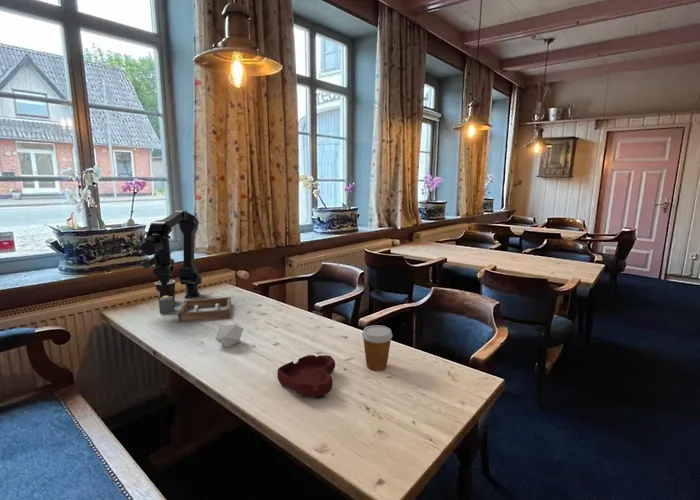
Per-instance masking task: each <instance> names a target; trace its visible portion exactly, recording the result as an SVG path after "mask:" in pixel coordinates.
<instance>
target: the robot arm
mask: <svg viewBox="0 0 700 500" xmlns="http://www.w3.org/2000/svg"><path fill="white" fill-rule="evenodd" d="M177 224H178V225H179V229H180V232H181V233H182V235H183V264H182V266H181V267H179V269H178V273H179V274H178V279H179V282H180V285H181V286H182V285H183V286H184V287H185V295H184V298H199V297H200V294H201V293H200V291H199V285H201V284H202V281H203V278H202V277H201V275H200V274H199V270H198V267H197V266H196V264H195V234H196V233H197V231H198V229H199V224H200V221H199V219H198V218H197V217H196V216H195V215H194V214H191V213H189V212H188V211H187V210H184V209H182V210H181V209H179V210H174V212H173V213H171V214H169V215H168V216H166V217H165V218H163V219H159V220H153V221H152V222H150V225H149V226H148V230H147V233H146V238H144V239H145V240H144V241H145V242H143V243H142V245H141V247H140V248H141V249H140V250H141V251H142V253H143V254H144V255H146V256H152V255H153V256H152V257H149V258H145V259H143V260H142V261H141V262H140V263H141V267H142V268H143V269H144V270H147V269H148V268H151V267H153V266H154V268H153V270H152V276H154V277H156V278H158V279H159V281H160V282H161V284H162V287H163V288H166V287H167V283H169V281H170V280H171V277H172V273H173V271H174V269H175V263H176V262H175V259H174V258H172V257H171V254H172V251H171V247H170V239H171V238H172V237H171V235H170V234H171V232H172V231H173V229H172V228H173V227H175V226H176V225H177Z"/></svg>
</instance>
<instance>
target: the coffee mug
mask: <svg viewBox="0 0 700 500" xmlns="http://www.w3.org/2000/svg"><path fill="white" fill-rule="evenodd" d="M154 287H155V290H156V296H157V298H158V300H159V299H160V298H161V297H163V296H173V299H174V301H176V300H175V298H176V297H175V295H176V294H175V293H176V280H174V279H170V281H169V283H167V287H166V288H163V287H162V284H161V282H160V280H158V281H156V282H154Z"/></svg>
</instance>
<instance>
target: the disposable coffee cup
mask: <svg viewBox="0 0 700 500" xmlns="http://www.w3.org/2000/svg"><path fill="white" fill-rule="evenodd" d="M361 336H362V337H361V338H362V339H363V345H364V355H365V363H366V364H365V365H366V368H367V369H369V370H370V371H372V372H382V371H385V370H386V369H387V367H388V361H389V353H390V349H391V348H390V347H391V342H392V339H393V333H392V329H391V328H389V327H387V326H385V325H379V324H377V325H368V326H366V327H365V328H364V329H363V331H362V332H361Z"/></svg>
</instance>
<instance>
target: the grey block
mask: <svg viewBox="0 0 700 500" xmlns="http://www.w3.org/2000/svg"><path fill="white" fill-rule="evenodd" d="M158 308H159V314H160V313H161V314H171V313H170V312H172V313H173V312H174V310H175V300H174V299H173V296H163V297H161V298H160V299H158Z"/></svg>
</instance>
